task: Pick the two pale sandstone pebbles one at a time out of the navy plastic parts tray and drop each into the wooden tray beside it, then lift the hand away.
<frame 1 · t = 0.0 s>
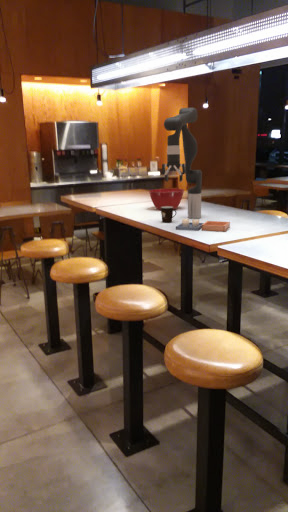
hand: (173, 181, 251), 29 cm above the table, fingers open, 8 cm apart
wooden tray: (215, 229, 257), on the table
parts tray: (190, 227, 263), on the table
pebble b: (195, 227, 262), point 1 cm above the table, touching parts tray
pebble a: (185, 226, 265), point 1 cm above the table, touching parts tray
mixing bowl: (166, 209, 340), on the table
coffee mug: (168, 222, 284), on the table
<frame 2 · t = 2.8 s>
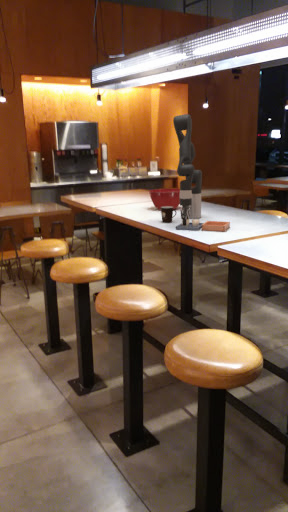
hand: (185, 224, 264), 2 cm above the table, fingers closed on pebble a, 4 cm apart
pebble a: (185, 226, 265), point 1 cm above the table, touching gripper, parts tray
everything else where it was.
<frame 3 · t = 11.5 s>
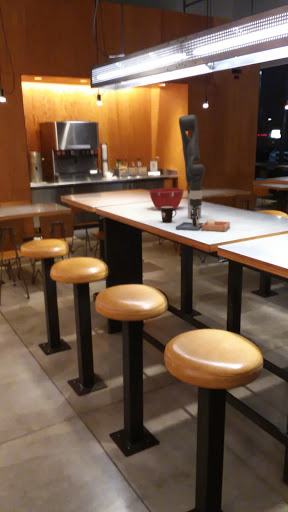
hand: (195, 225, 262), 2 cm above the table, fingers closed on pebble b, 4 cm apart
pebble b: (195, 227, 262), point 1 cm above the table, touching gripper, parts tray
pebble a: (210, 227, 258), point 1 cm above the table, touching wooden tray
everything else where it was.
when the fingers open (5 cm above the table, at t = 16.0 s): pebble b drops 3 cm, resting on wooden tray.
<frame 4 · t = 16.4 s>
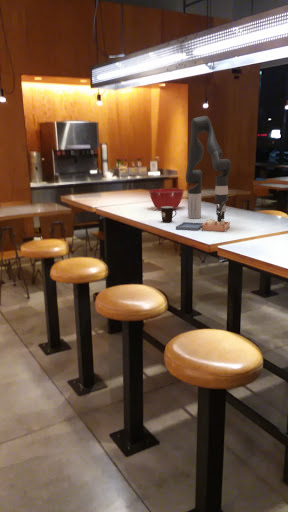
hand: (220, 220, 255), 5 cm above the table, fingers open, 7 cm apart
pebble b: (220, 227, 256), point 1 cm above the table, touching wooden tray
everything else where it was.
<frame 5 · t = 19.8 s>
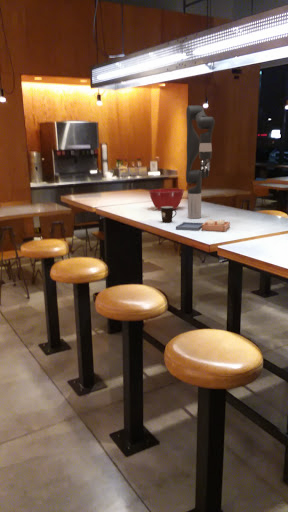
hand: (205, 177, 263), 30 cm above the table, fingers open, 8 cm apart
nothing on the table moved.
at the end: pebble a inside the target area on the wooden tray (3.0 cm from its centre), point 0.8 cm above the wooden tray's base; pebble b inside the target area on the wooden tray (3.0 cm from its centre), point 0.8 cm above the wooden tray's base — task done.
